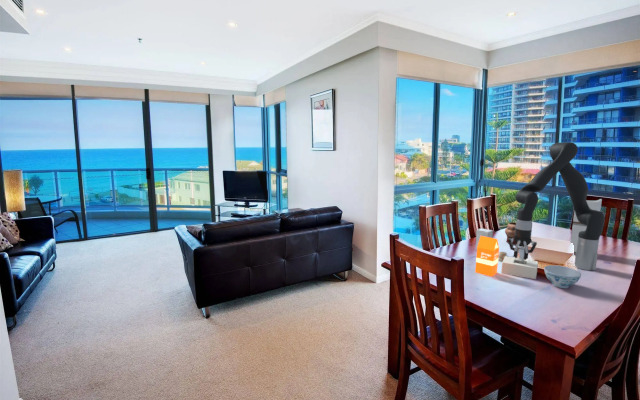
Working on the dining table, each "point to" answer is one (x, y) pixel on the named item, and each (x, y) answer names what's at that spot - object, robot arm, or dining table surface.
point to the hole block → (519, 267)
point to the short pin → (502, 256)
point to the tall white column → (581, 227)
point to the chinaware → (562, 275)
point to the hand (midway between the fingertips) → (520, 258)
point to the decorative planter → (510, 232)
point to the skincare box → (483, 233)
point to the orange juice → (487, 256)
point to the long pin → (520, 255)
